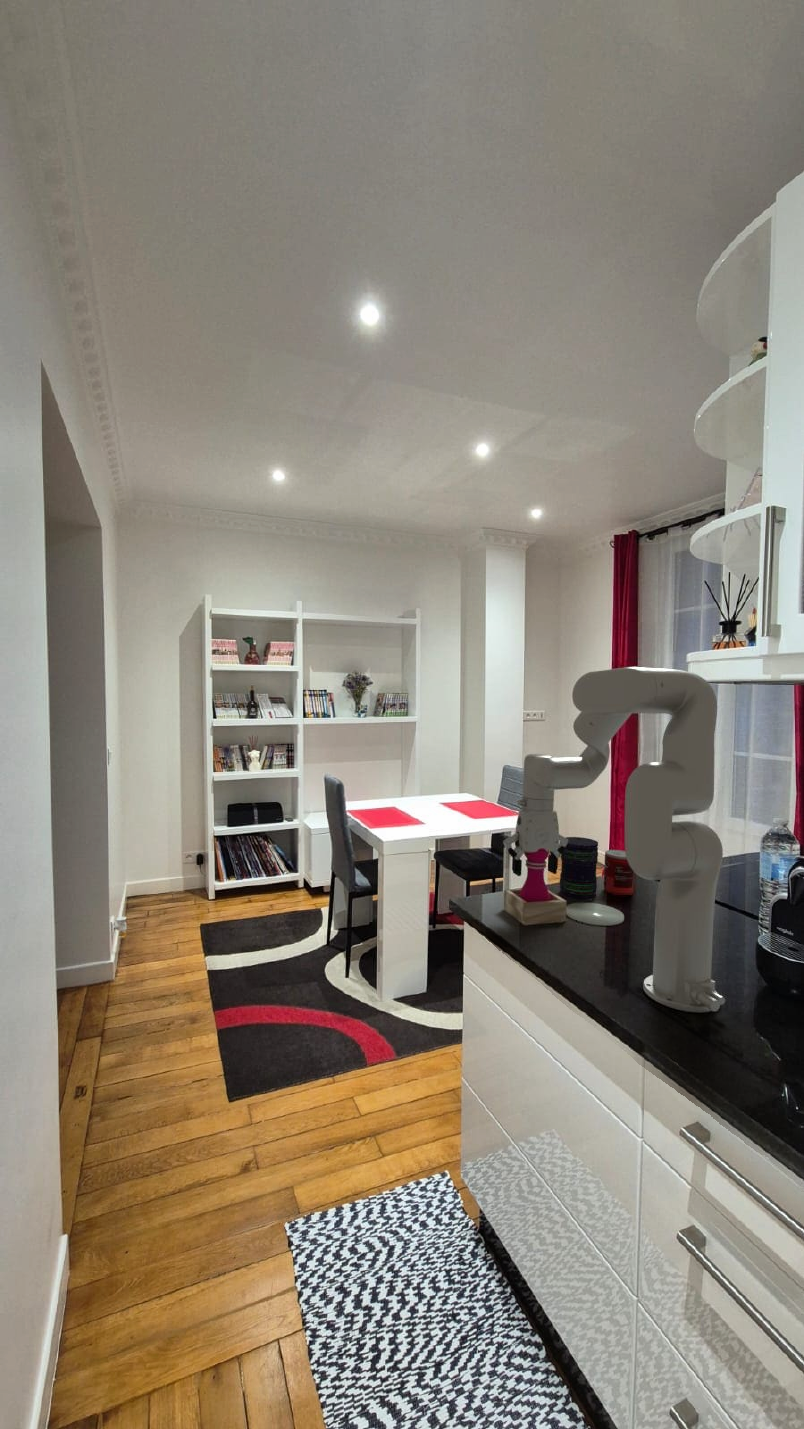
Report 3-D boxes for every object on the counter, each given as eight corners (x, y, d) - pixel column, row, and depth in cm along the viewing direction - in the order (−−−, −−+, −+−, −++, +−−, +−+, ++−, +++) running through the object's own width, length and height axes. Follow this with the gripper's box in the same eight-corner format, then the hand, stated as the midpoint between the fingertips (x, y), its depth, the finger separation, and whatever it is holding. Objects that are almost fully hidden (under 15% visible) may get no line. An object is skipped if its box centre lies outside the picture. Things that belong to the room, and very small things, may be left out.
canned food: (612, 886, 176) (614, 848, 175) (638, 893, 169) (640, 854, 169) (597, 890, 171) (599, 852, 170) (623, 898, 165) (625, 858, 164)
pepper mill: (549, 922, 145) (552, 839, 144) (518, 918, 146) (521, 836, 146) (548, 911, 152) (551, 832, 152) (519, 909, 153) (522, 830, 153)
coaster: (636, 923, 146) (636, 919, 146) (585, 927, 142) (585, 924, 142) (601, 903, 159) (601, 900, 159) (554, 907, 155) (554, 904, 155)
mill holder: (565, 921, 145) (566, 901, 145) (524, 925, 142) (525, 904, 142) (542, 906, 156) (543, 887, 156) (503, 909, 153) (504, 889, 153)
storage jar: (599, 902, 161) (601, 846, 160) (561, 899, 162) (563, 843, 162) (593, 890, 171) (595, 838, 170) (557, 888, 172) (559, 835, 172)
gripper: (512, 808, 143) (509, 880, 143) (577, 806, 147) (573, 876, 148) (498, 802, 150) (496, 870, 150) (560, 801, 155) (557, 867, 155)
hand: (534, 873), depth 149 cm, fingers open, 9 cm apart
